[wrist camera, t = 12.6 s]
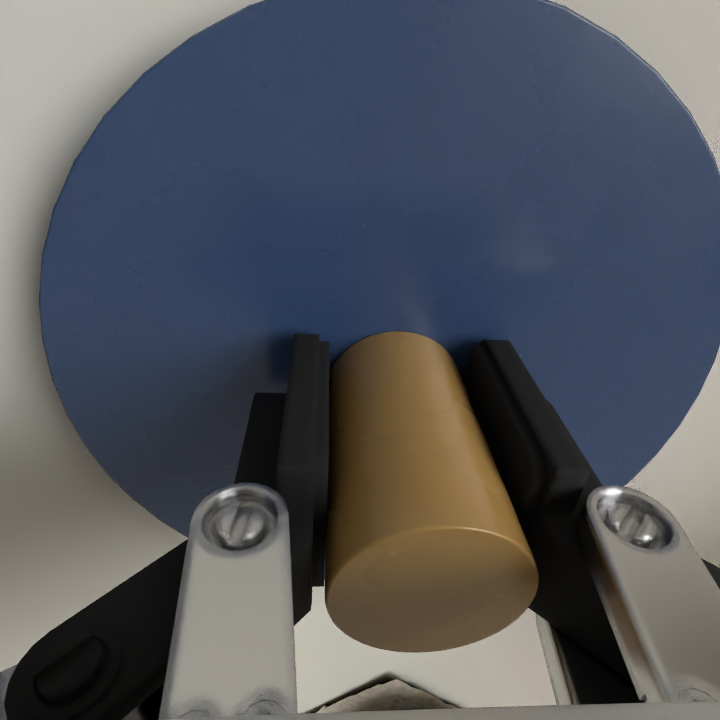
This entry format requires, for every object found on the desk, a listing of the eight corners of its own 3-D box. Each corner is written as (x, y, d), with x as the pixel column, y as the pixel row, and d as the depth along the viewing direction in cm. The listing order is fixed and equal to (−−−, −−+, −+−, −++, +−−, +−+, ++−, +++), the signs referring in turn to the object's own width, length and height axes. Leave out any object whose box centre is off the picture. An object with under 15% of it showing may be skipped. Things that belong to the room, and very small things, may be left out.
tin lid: (-6, 436, 13) (-244, 708, 7) (255, -295, 6) (-92, -1927, 1) (435, 595, 18) (479, 825, 12) (826, 273, 11) (1252, 463, 6)
